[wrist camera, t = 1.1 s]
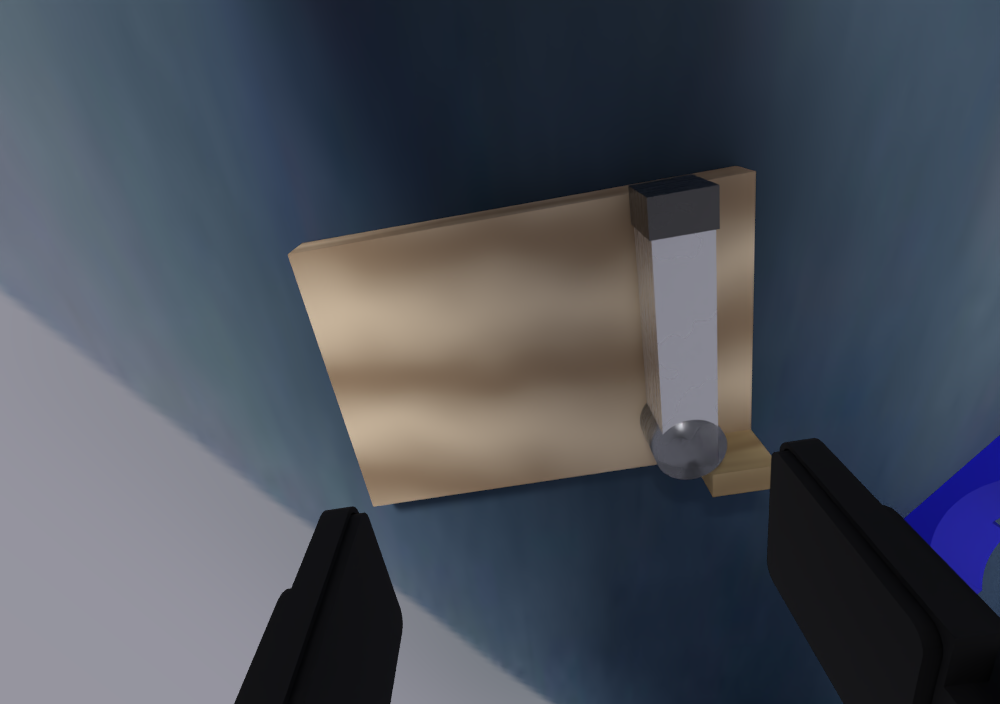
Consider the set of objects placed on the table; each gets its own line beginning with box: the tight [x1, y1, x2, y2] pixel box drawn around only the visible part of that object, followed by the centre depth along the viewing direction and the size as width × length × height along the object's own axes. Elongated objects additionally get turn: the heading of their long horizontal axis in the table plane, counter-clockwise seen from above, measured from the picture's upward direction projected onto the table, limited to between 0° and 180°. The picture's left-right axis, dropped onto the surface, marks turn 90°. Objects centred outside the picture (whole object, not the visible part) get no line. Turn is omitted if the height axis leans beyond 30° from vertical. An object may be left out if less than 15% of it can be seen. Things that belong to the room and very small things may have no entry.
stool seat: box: [288, 166, 772, 507], centre depth 26 cm, size 14×20×5 cm
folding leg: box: [628, 174, 727, 480], centre depth 24 cm, size 13×3×3 cm, turn 10°
